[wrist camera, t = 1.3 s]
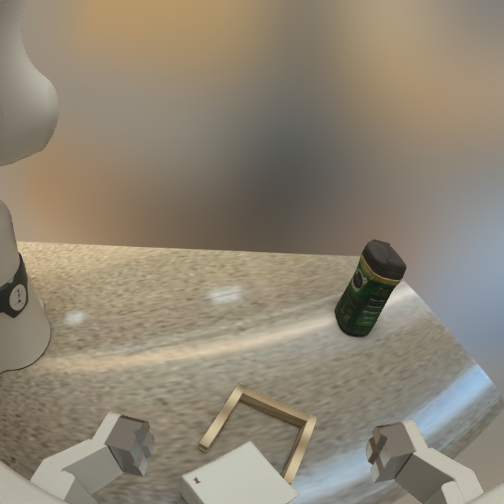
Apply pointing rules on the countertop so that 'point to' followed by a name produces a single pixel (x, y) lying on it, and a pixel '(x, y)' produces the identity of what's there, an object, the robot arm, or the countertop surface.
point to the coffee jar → (369, 288)
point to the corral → (273, 409)
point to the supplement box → (237, 480)
